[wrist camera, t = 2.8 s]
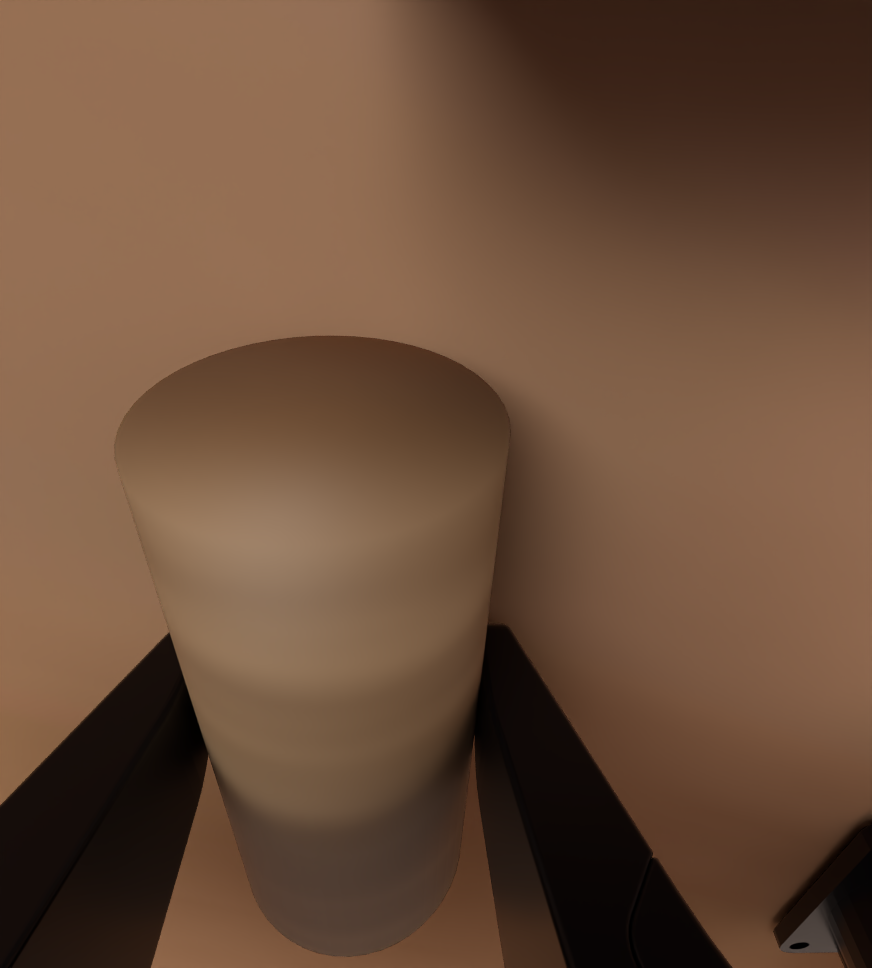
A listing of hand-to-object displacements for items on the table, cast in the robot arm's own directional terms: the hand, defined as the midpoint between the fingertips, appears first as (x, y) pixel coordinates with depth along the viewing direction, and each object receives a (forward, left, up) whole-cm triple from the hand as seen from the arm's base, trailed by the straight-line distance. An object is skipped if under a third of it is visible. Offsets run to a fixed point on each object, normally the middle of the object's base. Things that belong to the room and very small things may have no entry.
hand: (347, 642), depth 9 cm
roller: (0, 0, -1) cm, 1 cm away
